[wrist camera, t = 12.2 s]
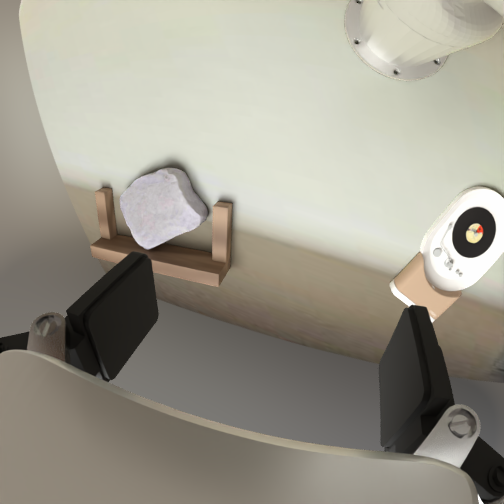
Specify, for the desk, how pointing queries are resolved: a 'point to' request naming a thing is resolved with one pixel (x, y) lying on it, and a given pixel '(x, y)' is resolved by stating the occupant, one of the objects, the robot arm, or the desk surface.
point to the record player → (454, 251)
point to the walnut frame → (168, 246)
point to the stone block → (161, 207)
